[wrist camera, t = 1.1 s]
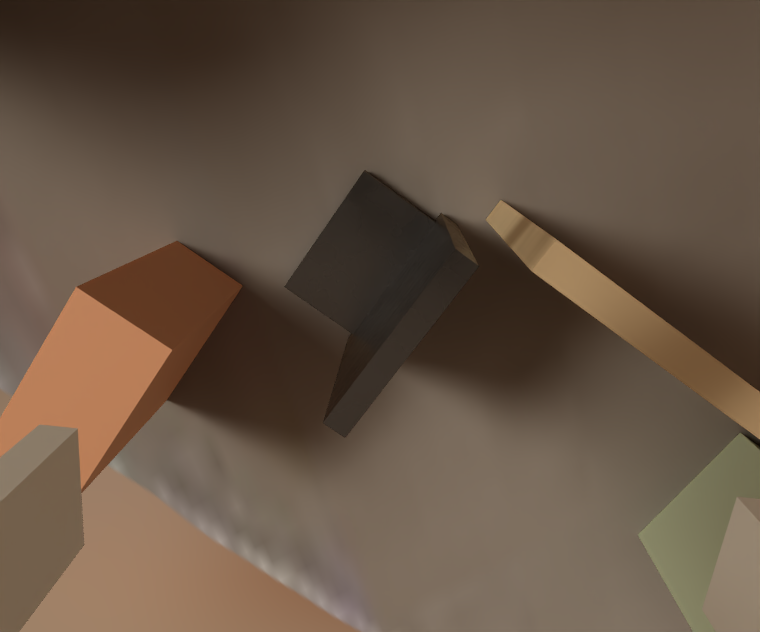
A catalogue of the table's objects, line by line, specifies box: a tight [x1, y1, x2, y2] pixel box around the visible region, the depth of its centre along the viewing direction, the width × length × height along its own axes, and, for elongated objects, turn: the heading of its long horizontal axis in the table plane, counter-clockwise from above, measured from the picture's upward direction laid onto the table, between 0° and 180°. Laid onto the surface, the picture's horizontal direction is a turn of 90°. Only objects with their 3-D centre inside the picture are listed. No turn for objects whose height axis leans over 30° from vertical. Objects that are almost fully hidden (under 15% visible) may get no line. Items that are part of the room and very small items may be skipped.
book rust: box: [0, 241, 242, 493], centre depth 28 cm, size 4×8×10 cm, turn 144°
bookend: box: [285, 170, 479, 437], centre depth 27 cm, size 5×8×10 cm, turn 145°
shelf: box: [486, 200, 760, 439], centre depth 28 cm, size 25×11×12 cm, turn 54°
